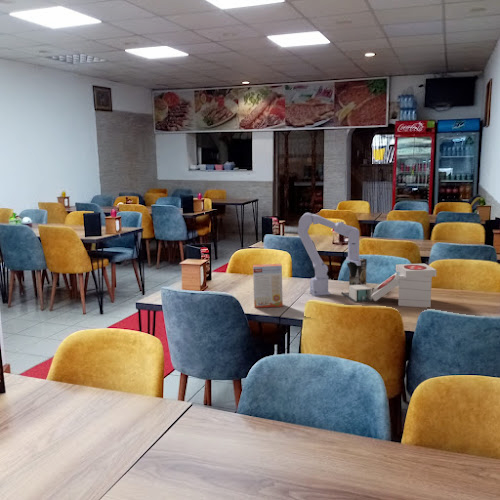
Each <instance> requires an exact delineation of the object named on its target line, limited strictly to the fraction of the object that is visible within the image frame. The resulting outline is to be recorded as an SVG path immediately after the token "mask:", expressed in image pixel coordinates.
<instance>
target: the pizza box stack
mask: <svg viewBox="0 0 500 500" xmlns="http://www.w3.org/2000/svg"><path fill="white" fill-rule="evenodd" d="M433 277H437V269H436V268H434V267H432V266H430V265H428V264H426V263H405V264H404V263H403V264H401V263H399V264H395V273H393V274H392V275H391V276H389V277H388V278H387V279H386V280H383V282H381V283H380V284H379V285H376V286H375V287H374V288H372V295H371V297H372V298H373V301H374V302H377V301H379V299H381V298H382V297H384V296H385V295H386V294H388V293H389V292H391V291H392V290H394V289H395V288H396V287H397V286H398V303H397V304H398V306H399V307H414V308H427V307H430V308H432V307H431V305H432V303H431V301H432V280H433Z"/></svg>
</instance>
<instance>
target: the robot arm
mask: <svg viewBox="0 0 500 500" xmlns="http://www.w3.org/2000/svg"><path fill="white" fill-rule="evenodd" d="M317 224H318V225H322V226H325V227H328V228H330V229H333V232H334V233H337V234H339V235H341V236H342V237H343V236H344V237H347V238H348V242H347V256H346V257H345V258H346V259H345V260H346V261H347V262H346V265H347V266H348V270H350V275H351V277H355V276H356V273H357V270H358V267H359V266H361V262H360V260H361V259H362V258H361V259H360V230H359V229H358V228H357V227H355V226H352V225H348V224H346V223H345V222H344V221H338V222H334V221H332V220H330V219H327V218H325V217H323V216H321V215H318V214H315V213H311V212H305V213H303V215H302V216H300V218H299V221H298V229H297V234H298V237H299V239H300V240H301V243H302V244H303V247H304V248H305V250H306V252H307V255H308V256H309V258H310V261H311V262H312V267H313V270H314V277H311V278H310V280H309V294H311V295H313V297H314V296H315V297H319V296H330V295H331V292H329V275H328V272H329V267H328V265H327V264H326V263H324V261H323V259H322V257H321V256H320V255H319V252H318V250H317V248H316V246H315V244H314V242H313V239H312V238H311V236H310V235H309V234H310V233H309V230H310V227H311V225H317Z"/></svg>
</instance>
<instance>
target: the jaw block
mask: <svg viewBox="0 0 500 500" xmlns="http://www.w3.org/2000/svg"><path fill="white" fill-rule="evenodd" d="M362 296H364V299H366V290H357V299H358V300H362Z"/></svg>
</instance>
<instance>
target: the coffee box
mask: <svg viewBox="0 0 500 500" xmlns="http://www.w3.org/2000/svg"><path fill="white" fill-rule="evenodd" d="M359 259H361V260H360V262H361V266H359V267H358V270H357V273H356V276H355V277H351V275H350V270H349V269H348V270H349V273H348V275H349V279H348V281H349V282H348V285H362V284H366V285H367V263H368V262H367V258H360V257H359Z"/></svg>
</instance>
